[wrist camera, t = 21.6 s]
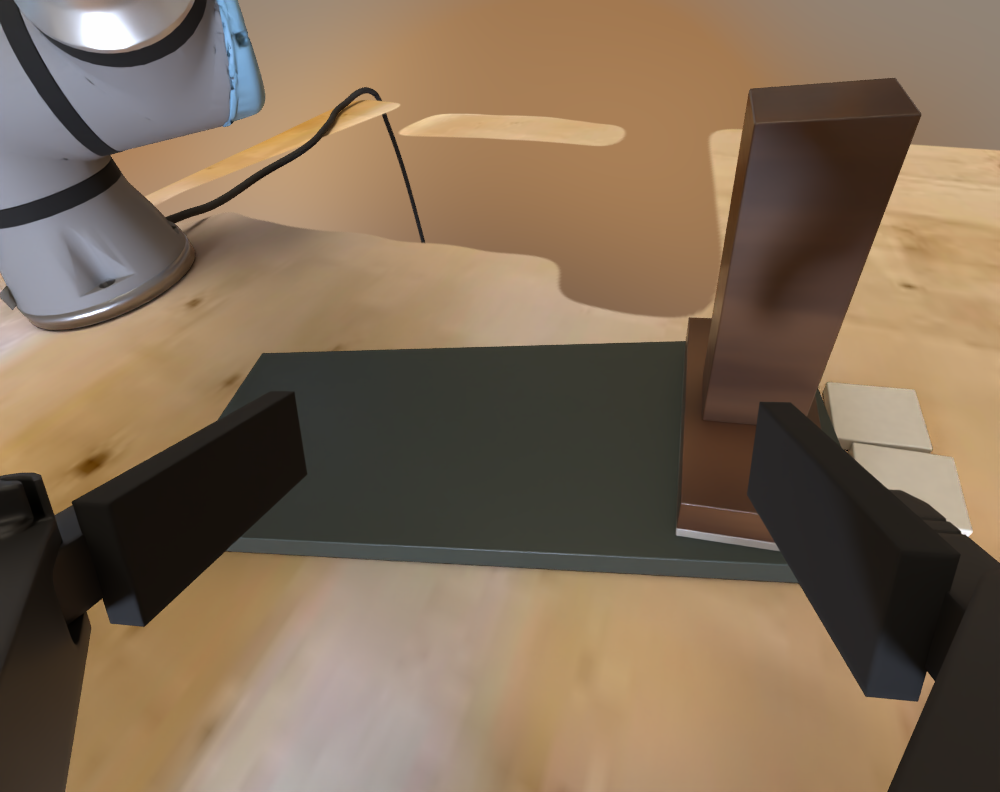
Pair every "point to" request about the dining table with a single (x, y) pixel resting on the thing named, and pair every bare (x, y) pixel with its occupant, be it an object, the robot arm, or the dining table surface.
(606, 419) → the slate board
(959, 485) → the chalk patch
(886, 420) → the chalk patch
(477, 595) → the dining table surface
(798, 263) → the brown upright slab stand
